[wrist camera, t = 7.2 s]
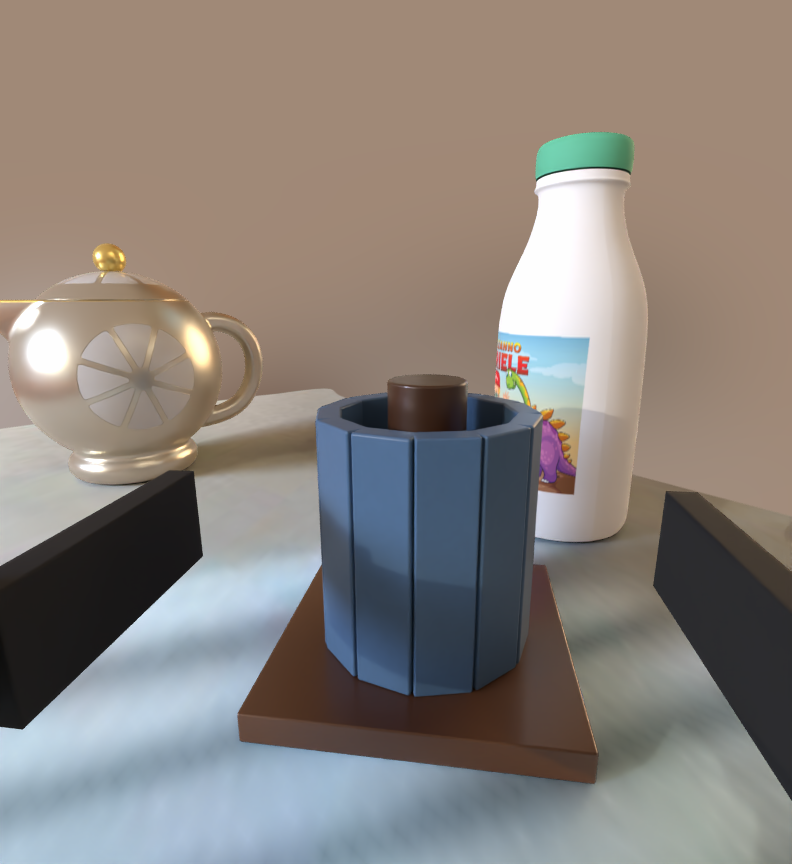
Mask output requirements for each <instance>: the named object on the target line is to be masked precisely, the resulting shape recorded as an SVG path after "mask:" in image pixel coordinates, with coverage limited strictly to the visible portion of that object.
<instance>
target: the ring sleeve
mask: <svg viewBox="0 0 792 864" xmlns="http://www.w3.org/2000/svg"><path fill="white" fill-rule="evenodd" d="M315 422H316V444H317V466H318V489H319V511H320V533H321V555H322V578H323V600H324V622H325V642H326V644H327V648H328V649H329V650H330V651H331V652H332V653H333V655H334V656H335V657H336V658H337V659H338V660H339V661H340V662H341V663H342V664H343V666H344V667H345V668H346V669H347V670H348V671H349V672H350V673H351V674H352V675H353V676H357V675H358V679H359V680H362V681H365V682H368V683H371V684H374V685H377V686H380V687H383V688H386V689H389V690H392V691H395V692H398V693H402V694H405V695H410V694H411V692H412V690H413V694H414V696H415V697H422V696H434V695H446V694H459V693H471V692H472V690H473V688H474V689H475V690H479V689H480V688H482V687H484V686H485V685H487V684H489V683H490V682H492V681H494V680H495V679H497V678H498V677H500V676H502V675H503V674H505V673H507V672H508V671H510V670H512V669H513V668H515V666H516V664H518V663H519V661H520V658H521V655H522V652H523V648H524V645H525V642H526V639H527V636H528V630H529V616H530V601H531V587H532V572H533V558H534V543H535V529H536V514H537V500H538V485H539V471H540V456H541V442H542V427H543V415H542V413H540V412H539V411H537V410H535V409H533V408H532V407H530V406H528V405H526V404H524V403H521V402H519V401H514V400H509V399H504V398H499V397H494V396H489V395H481V394H472V393H468V396H467V429H466V431H442V432H406V431H397V430H388V395H387V393H380V394H371V395H363V396H356V397H350V398H345V399H342V400H339V401H336V402H333V403H331V404H328V405H325V406H322V407H321V408H318V412H317V416H316V421H315Z"/></svg>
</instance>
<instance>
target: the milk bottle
mask: <svg viewBox="0 0 792 864" xmlns="http://www.w3.org/2000/svg"><path fill="white" fill-rule="evenodd" d="M633 160H634V142H633V140H632V139H631V138H630V137H628V136H626V135H623V134H617V133H609V132H591V133H582V134H574V135H570V136H565V137H561V138H558V139H555V140H552V141H549V142H547V143H545V144H544V145H543V146H542V147H541V148H540V149H539V151H538V154H537V160H536V181H537V184H536V189H535V194H536V195H538V197H539V206H538V212H537V217H536V221H535V224H534V227H533V230H532V233H531V236H530V239H529V242H528V244H527V246H526V248H525V251H524V253H523V255H522V257H521V260H520V261H519V264H518V265H517V268H516V269H515V271H514V274H513V276H512V278H511V280H510V283H509V286H508V288H507V291H506V294H505V298H504V301H503V306H502V311H501V317H500V323H499V335H498V347H497V361H496V379H495V397H499V398H504V399H509V400H514V401H519V402H521V403H524V404H526V405H528V406H530V407H532V408H533V409H535V410H537V411H539V412H540V413H542V415H543V427H542V442H541V456H540V471H539V485H538V500H537V514H536V529H535V537H538V538H543V539H548V540H556V541H566V542H584V541H594V540H600V539H604V538H607V537H610V536H612V535H614V534H616V533H617V532H618V531H619V530H620V529H621V528H622V526H623V525H624V523H625V521H626V517H627V511H628V504H629V496H630V488H631V480H632V472H633V463H634V454H635V446H636V437H637V429H638V420H639V411H640V402H641V393H642V382H643V374H644V365H645V355H646V341H647V327H648V305H647V297H646V290H645V286H644V281H643V278H642V275H641V272H640V269H639V266H638V263H637V261H636V258H635V256H634V252H633V250H632V247H631V243H630V240H629V236H628V232H627V227H626V221H625V214H624V195H625V192H626V190H627V189H628V188H629V187H630V186H631V183H630V174H631V171H632V168H633Z"/></svg>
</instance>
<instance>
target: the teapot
mask: <svg viewBox="0 0 792 864" xmlns="http://www.w3.org/2000/svg"><path fill="white" fill-rule="evenodd" d="M93 262H94V264H95V266H96V267H97V268H98V269H99V270H100V271H102V272H91V273H86V274H81V275H78V276H74V277H71V278H68V279H66V280H63V281H61V282H59V283H57V284H56V285H54V286H52V287H50V288H48V289H47V290H46V291H44V292H43V293H42V294H40V295H39V296H38V297H37V298H36V299H35V300H0V334H1V335H3V336H4V337H5V338H6V339H7V341H8V343H9V354H8V368H9V375H10V380H11V384H12V388H13V390H14V393H15V395H16V398H17V400H18V402H19V404H20V405H21V407H22V409H23V410H24V412H25V413H26V414H27V416H28V417H29V418H30V420H32V422H33V423H34V424H35V425H36V426H37V427H38V428H39V429H40V430H41V431H42V432H43V433H44V434H46V435H47V436H48V437H50V438H51V439H52V440H54V441H55V442H57V443H58V444H60V445H62V446H64V447H66V448H67V449H70V450H72V451H73V453H72V454H71V456H70V458H69V461H68V466H69V470H70V471H71V473H72V474H73V475H74V476H75V477H76V478H78V479H80V480H82V481H85V482H89V483H95V484H107V485H116V484H131V483H139V482H145V481H150V480H153V479H155V478H156V477H158V476H160V475H162V474H164V473H165V472H167V471H169V470H177V471H182V470H184V469H186V468H187V467H189V466H190V465H191V464H192V463H193V462H194V461H195V459H196V457H197V454H198V448H197V445H196V443H195V442H194V441H193V440H192V439H191V438H190V437H192V436H193V435H194V434H195V433H196V432H197V431H198V430H199V429H200V428H201V427H205V426H209V425H213V424H217V423H220V422H223V421H226V420H228V419H231V418H233V417H234V416H236V415H238V414H239V413H241V412H242V411H243V410H244V409H245V408H246V407H247V406H248V405H249V404H250V403H251V401H252V400H253V398H254V397H255V395H256V393H257V390H258V388H259V385H260V382H261V377H262V370H263V360H262V353H261V349H260V346H259V343H258V341H257V339H256V337H255V336H254V334H253V332H252V331H251V330H250V329H249V328H248V327H247V326H246V325H245V324H244V323H242V322H241V321H239V320H238V319H236V318H234V317H232V316H229V315H226V314H222V313H215V312H206V313H200V312H199V311H198V310H197V309H196V308H195V307H194V306H193V305H192V304H191V303H190V302H189V301H184V300H186V298H184V297H183V296H182V295H180V294H179V293H178V292H176V291H175V290H173V289H171V288H169V287H168V286H166V285H164V284H162V283H160V282H158V281H156V280H153V279H150V278H147V277H144V276H141V275H137V274H132V273H127V272H117V271H122V270H123V269H124V268H125V265H126V257H125V255H124V253H123V251H122V250H121V249H120V248H119V247H117V246H115V245H113V244H101V245H99V246H97V247H96V248H95V250H94V252H93ZM215 331H218V332H222V333H225V334H228V335H230V336H231V337H233V338H234V339H236V341H237V342H238V343H239V344H240V346H241V348H242V350H243V352H244V357H245V374H244V379H243V381H242V384H241V386H240V388H239V389H238V391H237V392H236V394H235V395H234V396H233V397H232V398H230V399H229V400H227V401H225V402H223V403H221V404H219V405H215V404H216V402H217V399H218V396H219V393H220V388H221V382H222V361H221V355H220V351H219V347H218V344H217V341H216V338H215V336H214V334H213V332H215Z"/></svg>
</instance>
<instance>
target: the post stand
mask: <svg viewBox="0 0 792 864" xmlns="http://www.w3.org/2000/svg"><path fill="white" fill-rule="evenodd" d="M387 386H388V389H387V390H388V391H387V395H388V430H397V431H406V432H442V431H466V429H467V396H468V382H467V380H465V379H463V378H460V377H456V376H448V375H431V374H430V375H429V374H428V375H427V374H426V375H425V374H423V375H405V376H398V377H394V378H392V379H389V380H388V383H387ZM237 716H238V727H239V737H240V741H242V742H250V743H259V744H267V745H275V746H284V747H292V748H300V749H309V750H317V751H325V752H333V753H342V754H350V755H358V756H367V757H375V758H383V759H392V760H400V761H408V762H417V763H425V764H433V765H442V766H450V767H458V768H467V769H475V770H483V771H492V772H500V773H508V774H517V775H525V776H533V777H542V778H550V779H558V780H566V781H575V782H583V783H591V784H594V783H595V782H596V774H597V765H598V756H599V754H598V750H597V747H596V743H595V740H594V736H593V733H592V729H591V725H590V722H589V718H588V715H587V711H586V708H585V704H584V700H583V697H582V693H581V690H580V686H579V683H578V679H577V676H576V672H575V668H574V665H573V661H572V658H571V654H570V651H569V647H568V643H567V640H566V636H565V633H564V629H563V626H562V622H561V618H560V615H559V611H558V608H557V604H556V601H555V597H554V593H553V590H552V586H551V583H550V579H549V576H548V572H547V569H546V566H545V565H535V564H533V572H532V587H531V601H530V616H529V630H528V636H527V639H526V642H525V645H524V648H523V652H522V655H521V658H520V661H519V663H518V664H516V666H515V668H513V669H512V670H510V671H508V672H507V673H505V674H503V675H502V676H500V677H498V678H497V679H495V680H494V681H492V682H490V683H489V684H487V685H485V686H484V687H482V688H480V689H479V690H475V689H474V688H473V690H472V692H471V693H459V694H446V695H434V696H422V697H415V696H414V694H413V690H412V692H411V694H410V695H405V694H402V693H398V692H395V691H392V690H389V689H386V688H383V687H380V686H377V685H374V684H371V683H368V682H365V681H362V680H359V679H358V675H357V676H353V675H352V674H351V673H350V672H349V671H348V670H347V669H346V668H345V667H344V666H343V664H342V663H341V662H340V661H339V660H338V659H337V658H336V657H335V656H334V655H333V653H332V652H331V651H330V650H329V649H328V648H327V644H326V642H325V622H324V600H323V578H322V565H321V567H320V568H319V570H318V572H317V574H316V576H315V577H314V579H313V581H312V583H311V584H310V586H309V588H308V590H307V591H306V593H305V595H304V597H303V599H302V600H301V602H300V604H299V606H298V607H297V609H296V611H295V613H294V614H293V616H292V618H291V620H290V622H289V623H288V625H287V627H286V629H285V630H284V632H283V634H282V636H281V637H280V639H279V641H278V643H277V645H276V646H275V648H274V650H273V652H272V653H271V655H270V657H269V659H268V660H267V662H266V664H265V666H264V668H263V669H262V671H261V673H260V675H259V676H258V678H257V680H256V682H255V683H254V685H253V687H252V689H251V691H250V692H249V694H248V696H247V698H246V699H245V701H244V703H243V705H242V706H241V708H240V710H239V712H238V714H237Z"/></svg>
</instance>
